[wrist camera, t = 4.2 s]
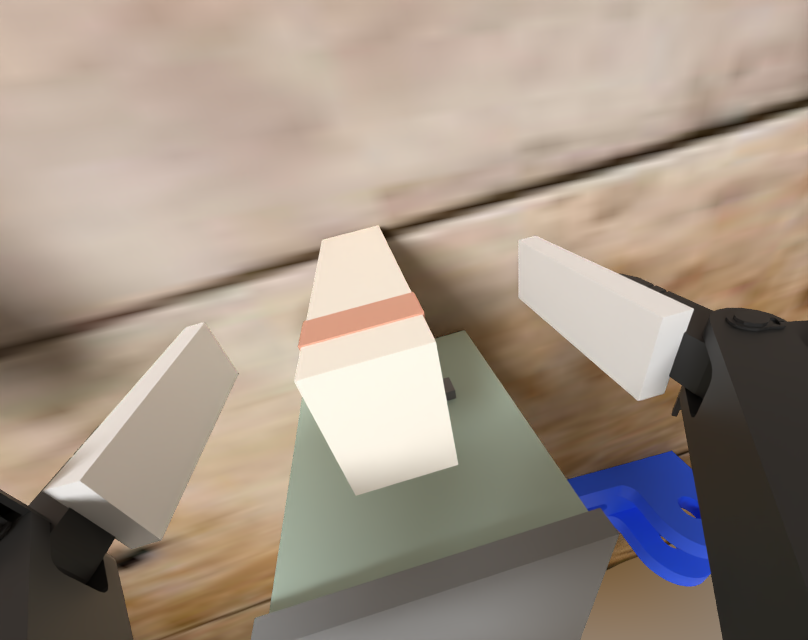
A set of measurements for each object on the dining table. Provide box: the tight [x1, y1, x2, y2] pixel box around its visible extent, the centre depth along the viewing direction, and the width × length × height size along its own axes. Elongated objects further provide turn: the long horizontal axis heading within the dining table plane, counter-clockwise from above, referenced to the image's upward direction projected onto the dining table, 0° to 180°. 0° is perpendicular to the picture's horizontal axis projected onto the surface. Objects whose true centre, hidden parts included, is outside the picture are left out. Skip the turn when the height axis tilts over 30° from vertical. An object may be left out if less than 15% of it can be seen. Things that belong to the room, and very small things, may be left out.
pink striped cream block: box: [294, 225, 458, 496], centre depth 14 cm, size 14×3×11 cm, turn 12°
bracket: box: [567, 451, 711, 586], centre depth 32 cm, size 18×8×9 cm, turn 98°
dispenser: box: [251, 330, 619, 640], centre depth 18 cm, size 13×12×13 cm
